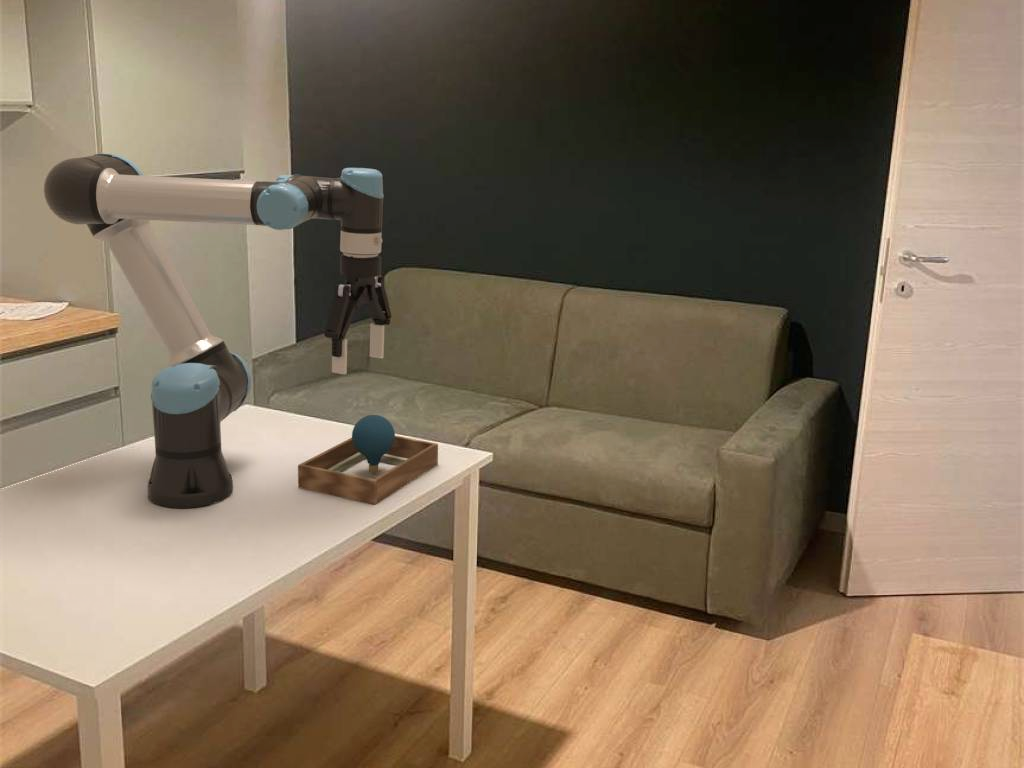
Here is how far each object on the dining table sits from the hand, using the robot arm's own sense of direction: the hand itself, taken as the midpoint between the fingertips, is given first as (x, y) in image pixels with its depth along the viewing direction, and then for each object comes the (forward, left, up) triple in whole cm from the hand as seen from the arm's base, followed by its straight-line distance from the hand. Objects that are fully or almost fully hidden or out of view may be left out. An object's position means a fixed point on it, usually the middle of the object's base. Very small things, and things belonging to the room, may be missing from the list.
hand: (358, 365), depth 200 cm
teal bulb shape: (+1, +3, -23) cm, 23 cm away
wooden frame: (+1, +2, -23) cm, 23 cm away
